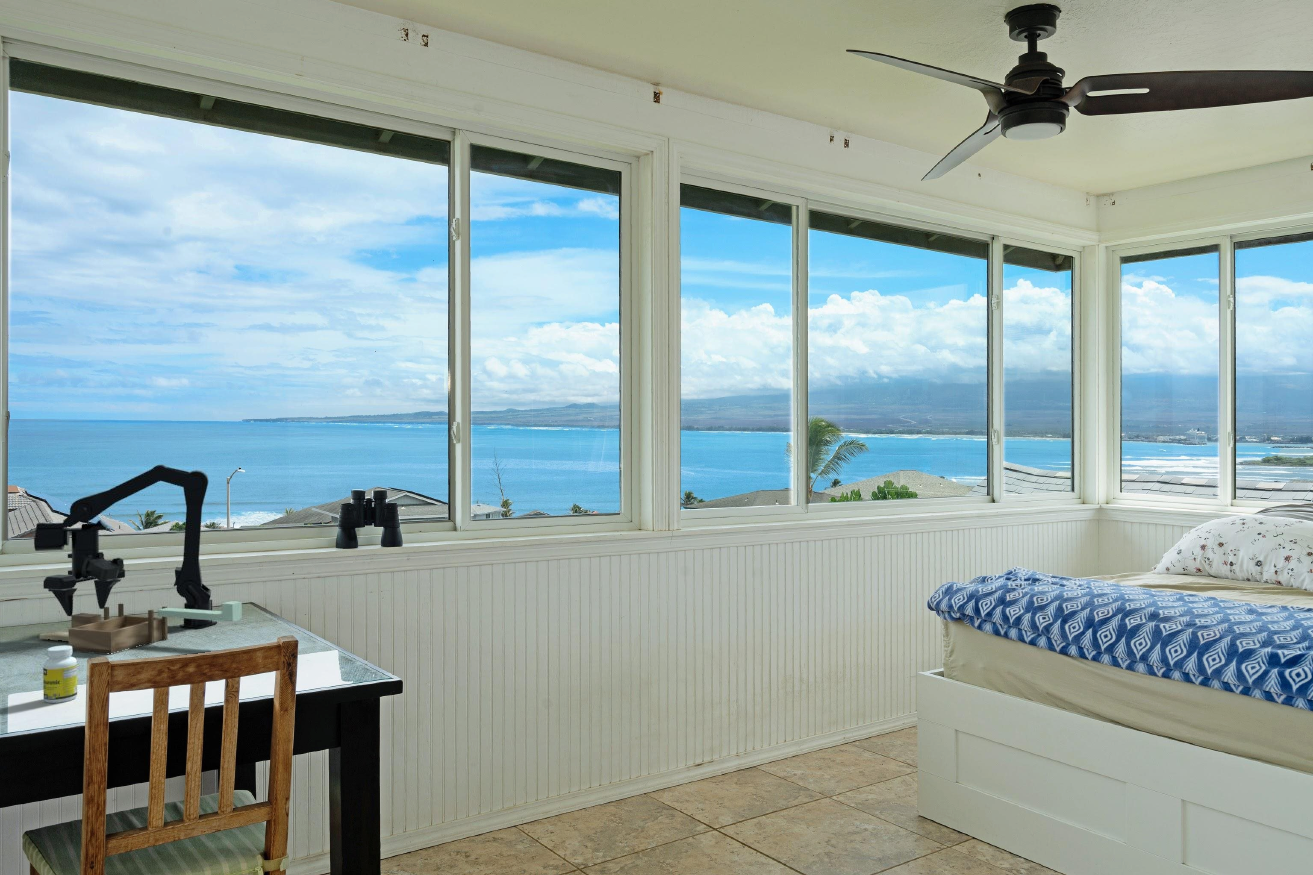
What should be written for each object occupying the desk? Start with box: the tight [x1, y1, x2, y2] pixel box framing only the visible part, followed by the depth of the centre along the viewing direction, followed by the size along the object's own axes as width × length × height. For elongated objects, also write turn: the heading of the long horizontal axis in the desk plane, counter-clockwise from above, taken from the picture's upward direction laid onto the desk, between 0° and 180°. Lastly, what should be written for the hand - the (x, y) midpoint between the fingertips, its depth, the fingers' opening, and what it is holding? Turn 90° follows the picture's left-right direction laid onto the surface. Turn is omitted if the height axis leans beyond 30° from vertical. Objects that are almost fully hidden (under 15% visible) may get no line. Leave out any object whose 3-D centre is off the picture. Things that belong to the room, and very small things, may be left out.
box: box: [68, 603, 169, 655], centre depth 221 cm, size 16×14×8 cm
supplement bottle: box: [42, 645, 78, 704], centre depth 178 cm, size 5×5×10 cm
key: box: [157, 600, 243, 623], centre depth 221 cm, size 3×21×4 cm, turn 74°
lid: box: [39, 612, 102, 642], centre depth 231 cm, size 16×11×5 cm
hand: (86, 612), depth 231 cm, fingers open, 9 cm apart
